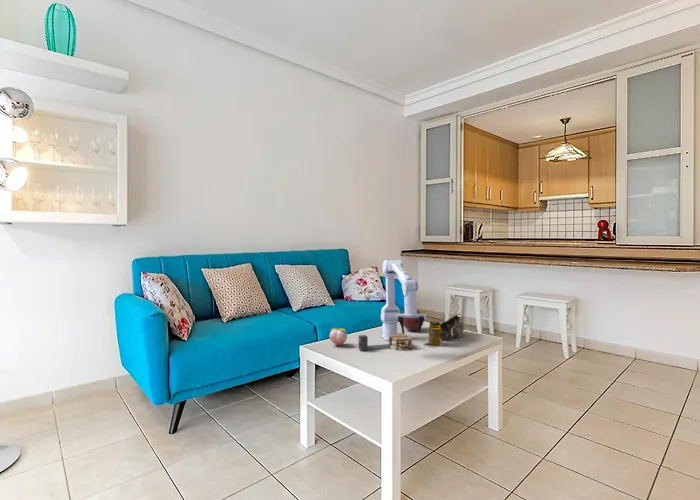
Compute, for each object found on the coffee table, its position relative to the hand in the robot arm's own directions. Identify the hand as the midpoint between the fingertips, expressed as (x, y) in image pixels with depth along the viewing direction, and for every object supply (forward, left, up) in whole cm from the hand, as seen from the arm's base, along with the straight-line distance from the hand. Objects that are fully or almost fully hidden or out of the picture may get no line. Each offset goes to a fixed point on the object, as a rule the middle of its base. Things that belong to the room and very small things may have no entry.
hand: (411, 333), depth 185 cm
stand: (-13, 0, -10) cm, 17 cm away
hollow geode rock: (-24, +33, -11) cm, 41 cm away
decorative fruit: (-24, -30, -10) cm, 40 cm away
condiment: (-12, +18, -10) cm, 23 cm away
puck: (-13, +1, -10) cm, 16 cm away
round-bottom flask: (-43, +20, -10) cm, 48 cm away
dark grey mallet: (-13, -14, -10) cm, 22 cm away
